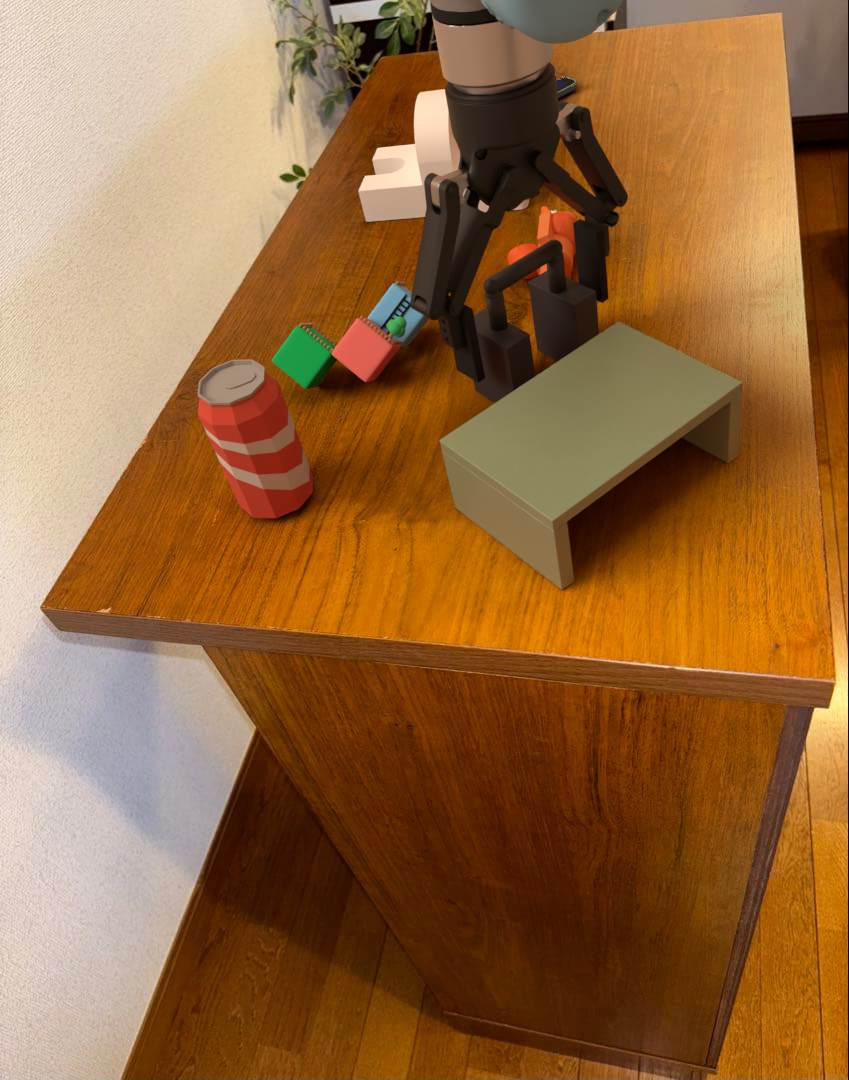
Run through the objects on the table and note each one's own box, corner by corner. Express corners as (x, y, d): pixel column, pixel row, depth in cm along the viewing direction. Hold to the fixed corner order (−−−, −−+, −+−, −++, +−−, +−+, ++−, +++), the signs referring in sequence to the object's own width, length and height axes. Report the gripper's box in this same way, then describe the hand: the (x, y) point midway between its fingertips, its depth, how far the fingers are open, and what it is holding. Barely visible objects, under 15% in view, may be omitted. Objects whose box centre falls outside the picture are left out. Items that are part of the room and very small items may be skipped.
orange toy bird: (568, 252, 86) (572, 184, 94) (492, 283, 89) (502, 215, 97) (590, 297, 89) (592, 228, 97) (516, 326, 92) (524, 256, 100)
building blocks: (359, 410, 93) (437, 309, 90) (338, 418, 86) (422, 307, 82) (295, 358, 93) (371, 254, 90) (268, 361, 85) (350, 247, 82)
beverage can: (327, 503, 78) (283, 385, 70) (252, 535, 77) (199, 419, 69) (303, 460, 83) (260, 344, 74) (233, 491, 82) (180, 376, 73)
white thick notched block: (366, 222, 109) (341, 124, 101) (384, 178, 115) (362, 83, 107) (527, 209, 104) (514, 105, 96) (537, 163, 110) (526, 63, 102)
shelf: (738, 455, 73) (742, 381, 68) (562, 590, 68) (552, 521, 63) (622, 391, 81) (618, 320, 76) (454, 508, 75) (438, 440, 70)
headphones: (601, 360, 84) (592, 242, 76) (517, 417, 81) (499, 300, 73) (556, 336, 88) (543, 221, 80) (474, 390, 85) (452, 276, 77)
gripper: (593, -5, 72) (610, 252, 87) (317, 134, 64) (388, 390, 79) (670, 9, 67) (674, 279, 82) (382, 162, 60) (444, 429, 75)
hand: (534, 334), depth 81 cm, fingers open, 13 cm apart
